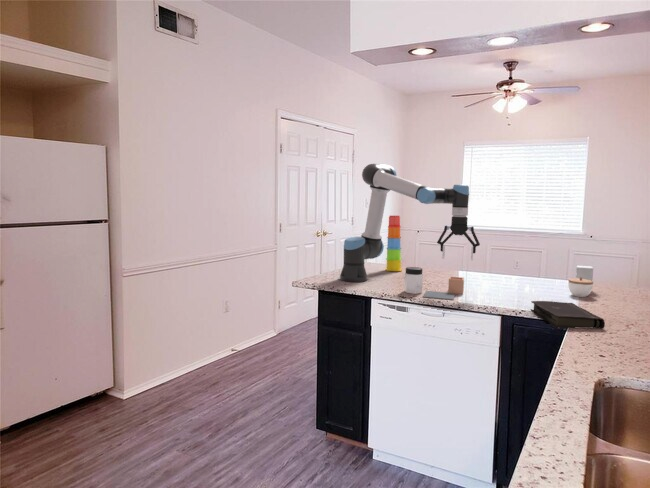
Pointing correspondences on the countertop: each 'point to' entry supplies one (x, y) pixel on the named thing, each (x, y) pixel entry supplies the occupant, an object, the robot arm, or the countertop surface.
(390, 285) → the countertop surface
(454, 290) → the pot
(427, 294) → the mat
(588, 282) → the lidded jar
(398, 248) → the stacking cups
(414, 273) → the jar
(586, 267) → the supplement box
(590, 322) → the diary
